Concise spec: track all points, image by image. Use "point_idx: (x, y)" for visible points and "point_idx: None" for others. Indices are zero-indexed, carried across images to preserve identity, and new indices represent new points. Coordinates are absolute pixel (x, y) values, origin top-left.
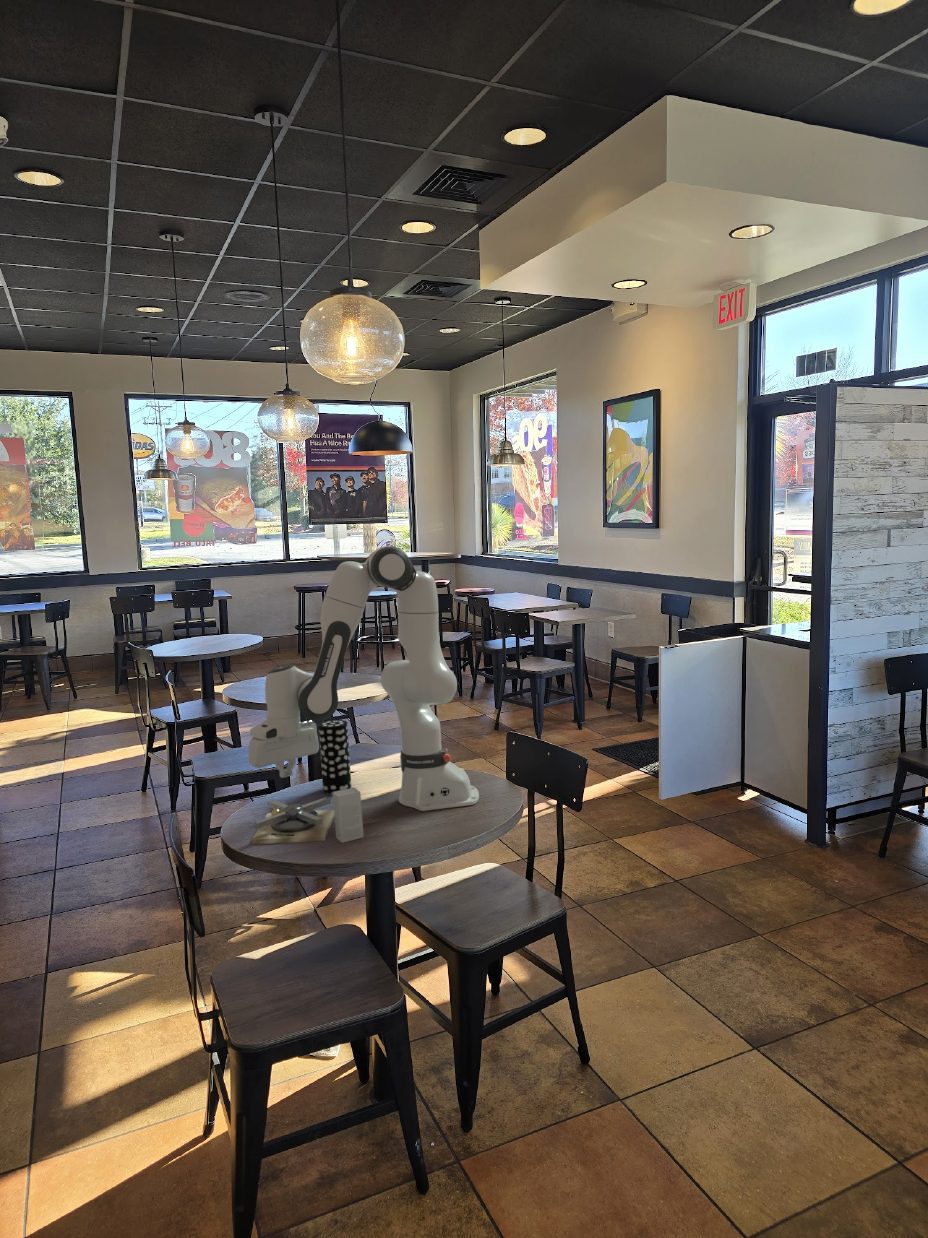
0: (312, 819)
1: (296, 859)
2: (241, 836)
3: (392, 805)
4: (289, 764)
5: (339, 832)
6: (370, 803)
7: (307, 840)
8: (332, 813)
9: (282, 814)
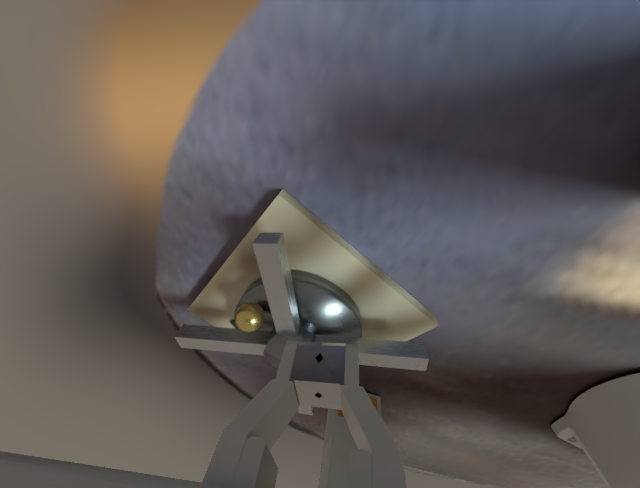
0: None
1: (245, 382)
2: (179, 250)
3: (571, 376)
4: (359, 434)
5: (328, 415)
6: (567, 333)
7: None
8: (411, 337)
9: (250, 353)
